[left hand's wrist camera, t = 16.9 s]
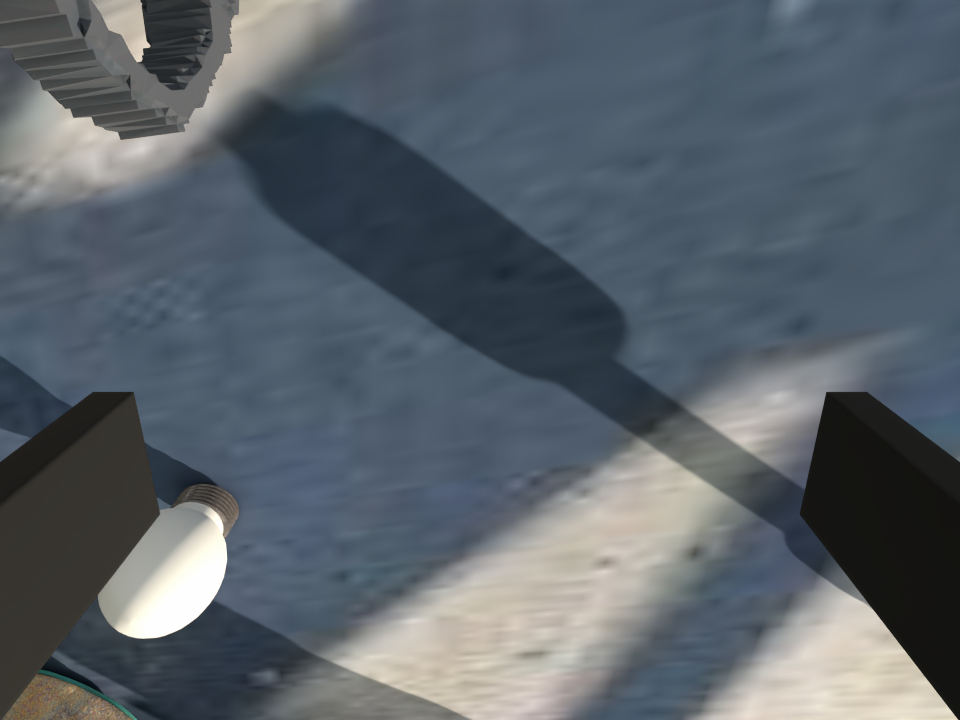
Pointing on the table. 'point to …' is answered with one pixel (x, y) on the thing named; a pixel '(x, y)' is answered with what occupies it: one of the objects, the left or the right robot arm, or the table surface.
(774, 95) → the table surface
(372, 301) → the table surface
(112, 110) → the toy
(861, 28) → the table surface
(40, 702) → the ballet flat
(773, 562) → the table surface
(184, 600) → the light bulb
